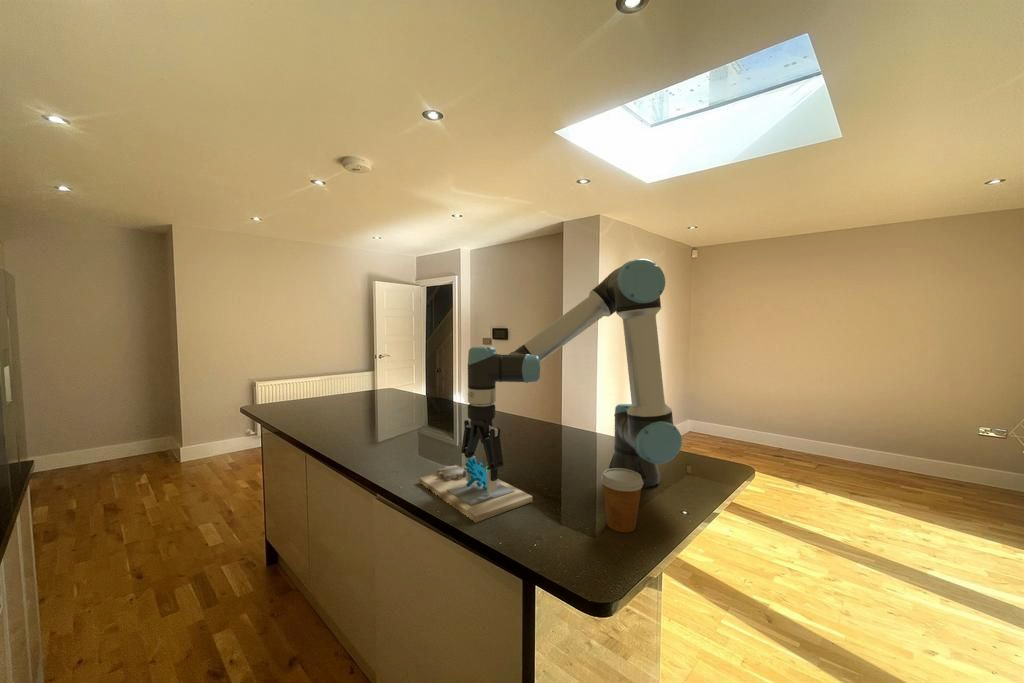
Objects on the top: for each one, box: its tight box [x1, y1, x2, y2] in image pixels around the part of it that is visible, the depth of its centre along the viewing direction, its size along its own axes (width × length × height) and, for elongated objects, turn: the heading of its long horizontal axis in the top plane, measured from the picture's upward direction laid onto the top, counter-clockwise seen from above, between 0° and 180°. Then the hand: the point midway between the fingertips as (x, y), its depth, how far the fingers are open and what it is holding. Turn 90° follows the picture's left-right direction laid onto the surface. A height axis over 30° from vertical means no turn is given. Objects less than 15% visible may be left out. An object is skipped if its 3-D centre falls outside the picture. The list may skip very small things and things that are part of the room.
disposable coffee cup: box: [600, 468, 644, 533], centre depth 88 cm, size 10×10×12 cm
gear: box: [464, 458, 489, 490], centre depth 103 cm, size 11×6×10 cm
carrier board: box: [418, 464, 533, 523], centre depth 106 cm, size 31×18×3 cm, turn 39°
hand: (480, 485), depth 103 cm, fingers closed on gear, 9 cm apart
